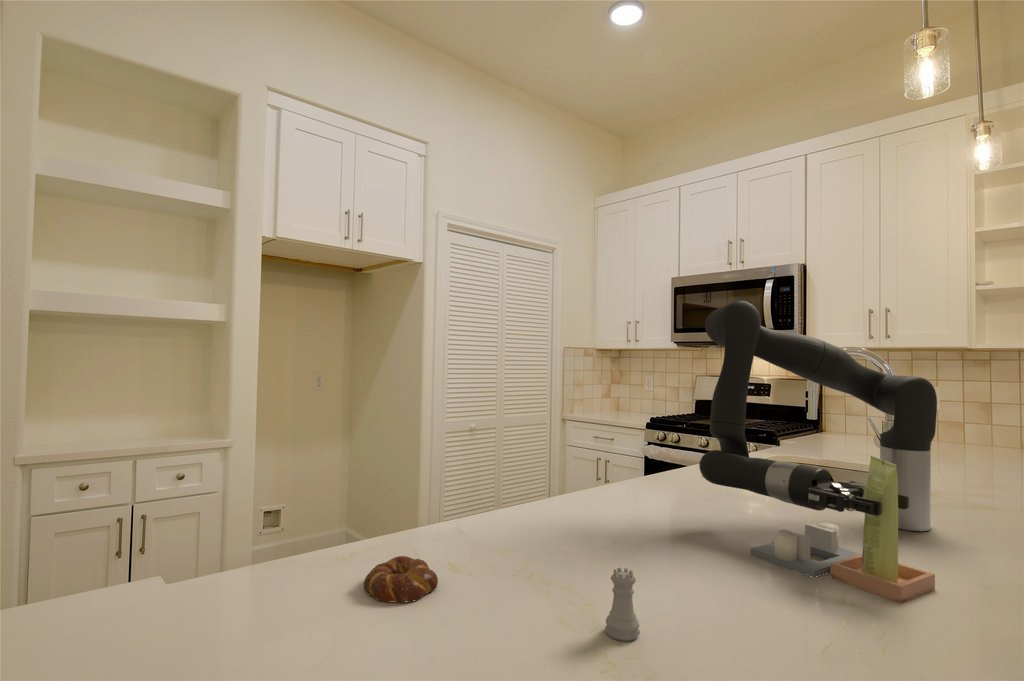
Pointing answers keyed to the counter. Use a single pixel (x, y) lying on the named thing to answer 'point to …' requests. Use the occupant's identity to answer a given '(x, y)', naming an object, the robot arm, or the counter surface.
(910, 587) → the tray
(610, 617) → the rook chess piece
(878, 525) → the tube
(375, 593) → the brown pretzel bun
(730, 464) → the robot arm
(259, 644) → the counter surface
